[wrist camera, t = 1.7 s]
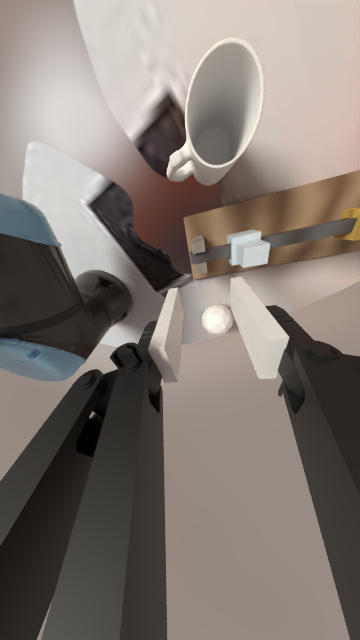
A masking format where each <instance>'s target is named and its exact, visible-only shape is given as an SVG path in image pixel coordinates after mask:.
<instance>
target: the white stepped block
mask: <svg viewBox="0 0 360 640" xmlns="http://www.w3.org/2000/svg"><path fill="white" fill-rule="evenodd" d="M230 243H231V257H227V260H228V261H229V263H230V264H231V265H232V266H233V265H238V264H240V266H241V267H242V268H246V267H252V266H257V265H263V264H267V263H268V256H269V249H270V243H268V242H265V241H262V240H261V231H257V230H248V231H243V232H239V233H235V234H230V235H227V244H230Z"/></svg>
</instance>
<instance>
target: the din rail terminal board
mask: <svg viewBox="0 0 360 640" xmlns="http://www.w3.org/2000/svg"><path fill="white" fill-rule="evenodd" d="M184 224H185V230H186V237H187V243H188V248H189V255H190V261H191V267H192V274H193V280H194V279H200V278H205V277H211V276H217V275H222V274H228V273H233V272H239V271H245V270H250V269H256V268H261V267H267V266H273V265H278V264H284V263H289V262H295V261H301V260H306V259H312V258H317V257H323V256H329V255H334V254H340V253H345V252H351V251H357V250H360V170H359V171H355V172H351V173H348V174H344V175H340V176H337V177H333V178H329V179H325V180H322V181H318V182H314V183H310V184H307V185H303V186H299V187H295V188H292V189H288V190H284V191H281V192H277V193H273V194H269V195H266V196H262V197H258V198H254V199H251V200H247V201H243V202H240V203H236V204H232V205H228V206H225V207H221V208H217V209H214V210H210V211H206V212H202V213H198V214H195V215H191V216H187V217H184ZM248 230H257V231H261V240H262V241H265V242H268V243H270V249H269V256H268V263H267V264H263V265H257V266H252V267H246V268H242V267H241V266H240V264H238V265H233V266H232V265H231V264H230V263H229V261H228V260H227V257H231V243H230V244H227V235H230V234H235V233H239V232H243V231H248Z"/></svg>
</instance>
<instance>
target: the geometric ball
mask: <svg viewBox="0 0 360 640" xmlns="http://www.w3.org/2000/svg"><path fill="white" fill-rule="evenodd" d="M233 319H234V317H233V315H232V313H231V311H230V310H229V309H228V308H226V307H225V306H223V305H217V304H215V305H213V306H210V307H208V308H207V309H206V310H205V312H204V314H203V316H202V323H203V327H204V328H205V329H206V330H207V331H208V332H209V333H211V334H216V335H221V334H223V333H226V332H227V331H228V330H229V329H230V328H231V327H232V324H233Z"/></svg>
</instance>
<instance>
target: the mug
mask: <svg viewBox="0 0 360 640" xmlns="http://www.w3.org/2000/svg"><path fill="white" fill-rule="evenodd" d="M264 93H265V82H264V73H263V68H262V65H261V62H260V59H259V57H258V55H257V53H256V51H255V50H254V48H253V47H252V46H251V45H250V44H249V43H248V42H246V41H244V40H242V39H240V38H227V39H224V40H222V41H220V42H218V43H217V44H215V45H214V46H213V47H212V48H211V49H210V50H209V51H208V52H207V53H206V54H205V56H204V57H203V58H202V60H201V61H200V63H199V65H198V67H197V69H196V71H195V73H194V75H193V78H192V80H191V83H190V87H189V90H188V95H187V100H186V109H185V127H186V134H187V140H186V143H185V145H184V146H183V147H182V148H181V149H180V150H178V151H176V152H175V153H173V154H172V155H171V156H170V162H169V165H168V168H167V177H168V179H169V180H171V181H183V180H185V179H186V178H187V177H189V176H190V175H192V174H194V177H195V178H196V180H197V181H198V182H199V183H201V184H202V185H205V186H210V185H214V184H216V183H217V182H219V181H220V180H221V179H222V178H223V177H224V176H225V174H226V173H227V172H228V171H229V170H230V168H231V167H232V166H233V165H234V164H235V163H236V161H237V160H238V159H239V158H240V156H241V155H242V154H243V153H244V151H245V150H246V149H247V147H248V146H249V144H250V142H251V141H252V139H253V137H254V135H255V132H256V130H257V127H258V124H259V121H260V118H261V114H262V109H263V104H264ZM186 162H187V163H186ZM185 163H186V164H185ZM183 164H185V165H184V166H183V167H181V166H182V165H183ZM180 167H181V168H180ZM179 168H180V169H179Z"/></svg>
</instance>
